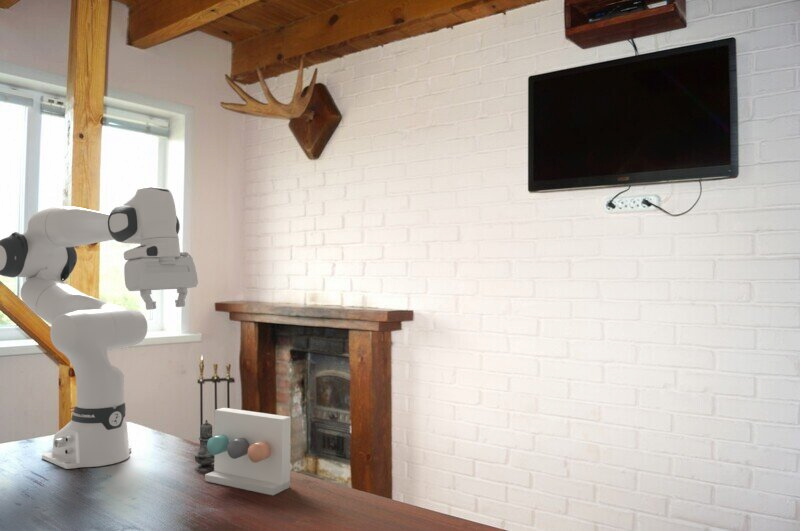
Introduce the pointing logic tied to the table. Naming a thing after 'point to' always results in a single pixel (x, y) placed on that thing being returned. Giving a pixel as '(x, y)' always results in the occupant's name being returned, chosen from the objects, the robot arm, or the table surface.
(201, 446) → the grey stone chess piece
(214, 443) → the teal button
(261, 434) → the console
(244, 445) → the charcoal button
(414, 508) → the table surface
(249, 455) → the terracotta button
